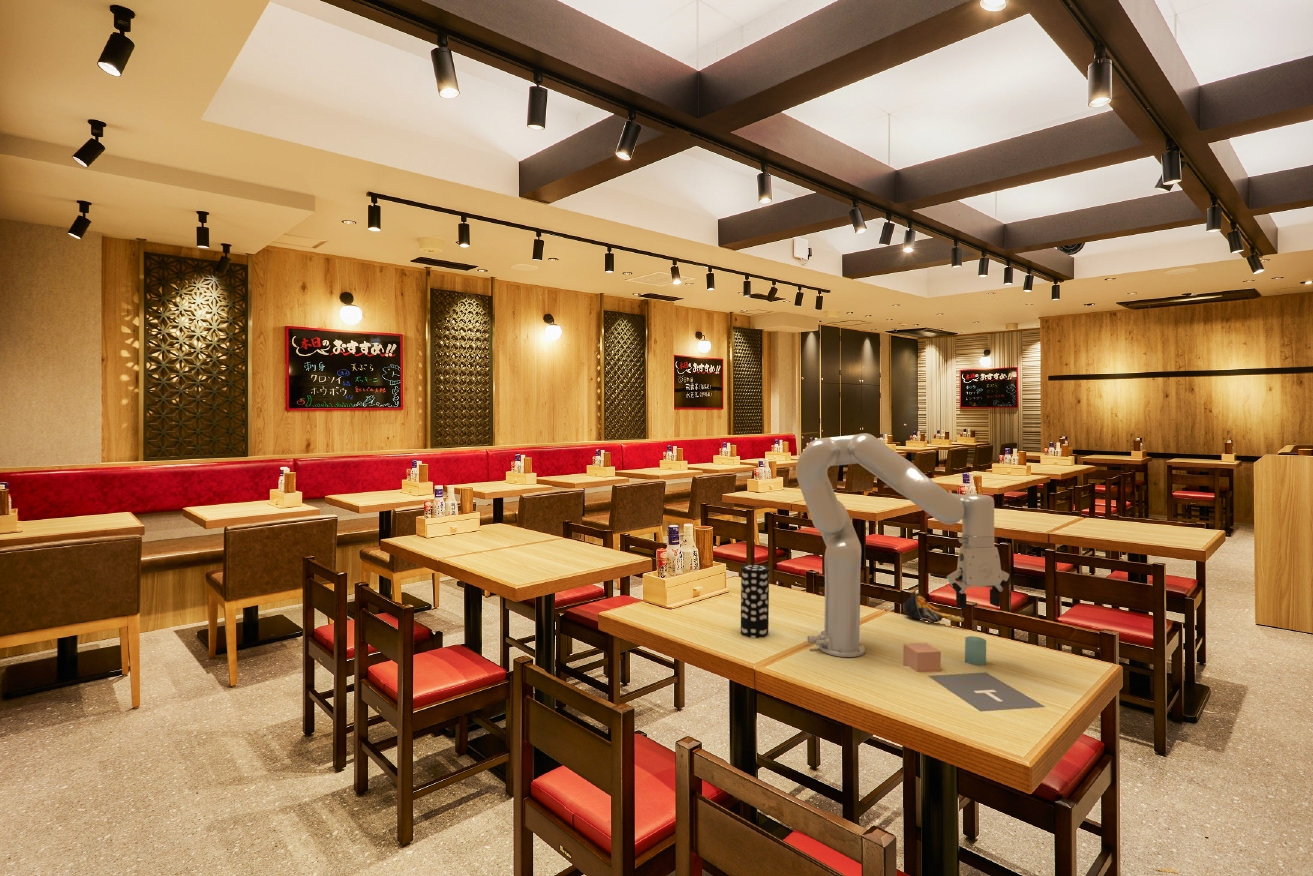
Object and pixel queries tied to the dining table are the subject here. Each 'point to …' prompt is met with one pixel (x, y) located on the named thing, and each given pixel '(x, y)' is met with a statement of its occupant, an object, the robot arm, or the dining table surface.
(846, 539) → the robot arm
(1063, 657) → the dining table surface
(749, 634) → the spotted tube
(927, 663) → the block
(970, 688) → the board
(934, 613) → the black and orange piece
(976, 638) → the cylinder
